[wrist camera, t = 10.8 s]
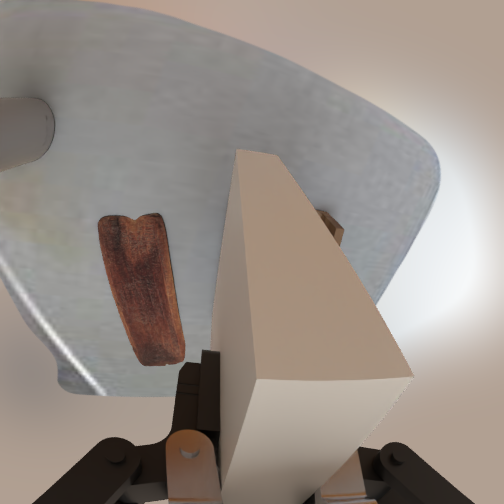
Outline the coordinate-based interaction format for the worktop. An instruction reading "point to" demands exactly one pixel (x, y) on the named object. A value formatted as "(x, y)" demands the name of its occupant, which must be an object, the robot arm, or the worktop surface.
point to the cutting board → (292, 344)
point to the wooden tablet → (143, 286)
